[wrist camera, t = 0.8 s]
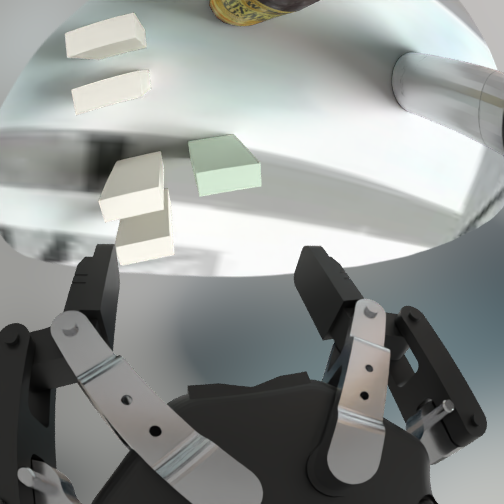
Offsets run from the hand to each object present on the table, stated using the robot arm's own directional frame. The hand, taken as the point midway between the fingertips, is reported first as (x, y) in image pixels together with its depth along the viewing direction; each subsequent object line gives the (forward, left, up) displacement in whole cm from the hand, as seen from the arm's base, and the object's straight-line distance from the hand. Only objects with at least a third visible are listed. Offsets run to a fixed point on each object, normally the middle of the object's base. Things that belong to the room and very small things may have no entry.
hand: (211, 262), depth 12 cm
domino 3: (+5, +2, -21) cm, 22 cm away
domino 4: (+5, +6, -21) cm, 23 cm away
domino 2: (+5, -7, -21) cm, 23 cm away
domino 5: (-3, +1, -21) cm, 22 cm away
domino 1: (+5, -12, -21) cm, 25 cm away
